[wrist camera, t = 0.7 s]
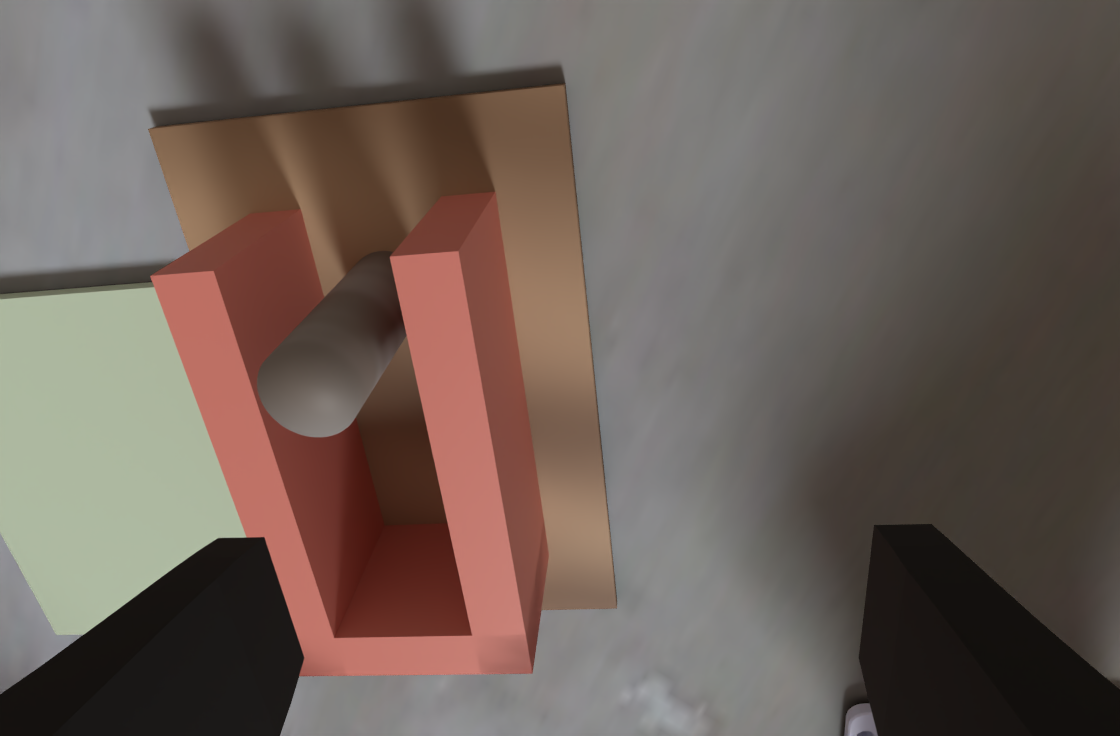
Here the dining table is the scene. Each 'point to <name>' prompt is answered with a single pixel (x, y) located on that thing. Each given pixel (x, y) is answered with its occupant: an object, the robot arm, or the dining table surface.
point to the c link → (340, 461)
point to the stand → (372, 300)
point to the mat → (101, 450)
